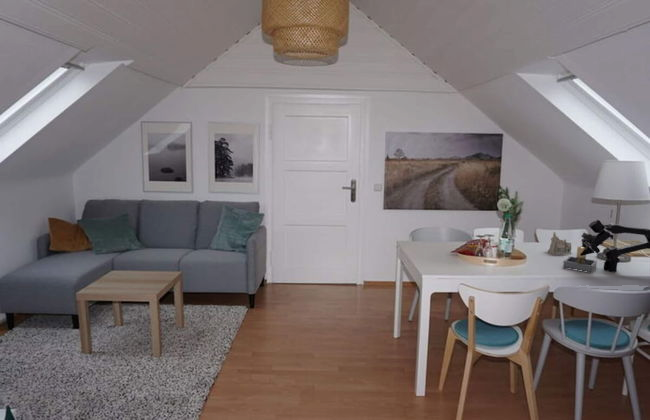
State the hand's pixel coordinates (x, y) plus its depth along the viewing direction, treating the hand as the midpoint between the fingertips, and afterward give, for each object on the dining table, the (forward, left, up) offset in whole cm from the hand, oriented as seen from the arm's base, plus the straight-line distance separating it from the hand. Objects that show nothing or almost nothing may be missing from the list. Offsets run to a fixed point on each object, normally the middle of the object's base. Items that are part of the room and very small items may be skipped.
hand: (579, 254), depth 297 cm
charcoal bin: (-1, -1, -9) cm, 9 cm away
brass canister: (-1, -1, -7) cm, 7 cm away
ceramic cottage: (+17, -32, -9) cm, 38 cm away
